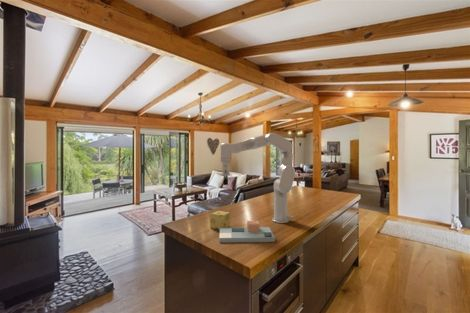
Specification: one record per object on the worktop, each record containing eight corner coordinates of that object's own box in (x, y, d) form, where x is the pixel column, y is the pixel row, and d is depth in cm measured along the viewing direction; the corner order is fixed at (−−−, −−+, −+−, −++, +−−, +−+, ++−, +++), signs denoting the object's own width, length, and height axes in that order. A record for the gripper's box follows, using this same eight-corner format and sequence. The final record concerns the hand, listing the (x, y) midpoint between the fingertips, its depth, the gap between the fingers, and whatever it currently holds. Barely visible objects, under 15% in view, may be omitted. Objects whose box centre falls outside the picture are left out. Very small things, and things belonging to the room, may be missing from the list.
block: (257, 227, 151) (257, 220, 151) (259, 231, 144) (259, 224, 144) (247, 227, 150) (247, 221, 150) (248, 231, 143) (248, 224, 143)
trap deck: (268, 230, 152) (268, 227, 152) (274, 241, 134) (274, 237, 134) (219, 231, 151) (219, 227, 150) (219, 242, 133) (219, 238, 133)
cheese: (222, 230, 152) (222, 215, 152) (209, 227, 158) (209, 213, 158) (230, 226, 161) (230, 212, 161) (218, 223, 167) (218, 210, 167)
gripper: (231, 160, 160) (231, 185, 160) (230, 159, 177) (230, 182, 177) (220, 160, 160) (220, 185, 160) (221, 159, 177) (220, 182, 177)
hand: (225, 183), depth 169 cm, fingers open, 9 cm apart
